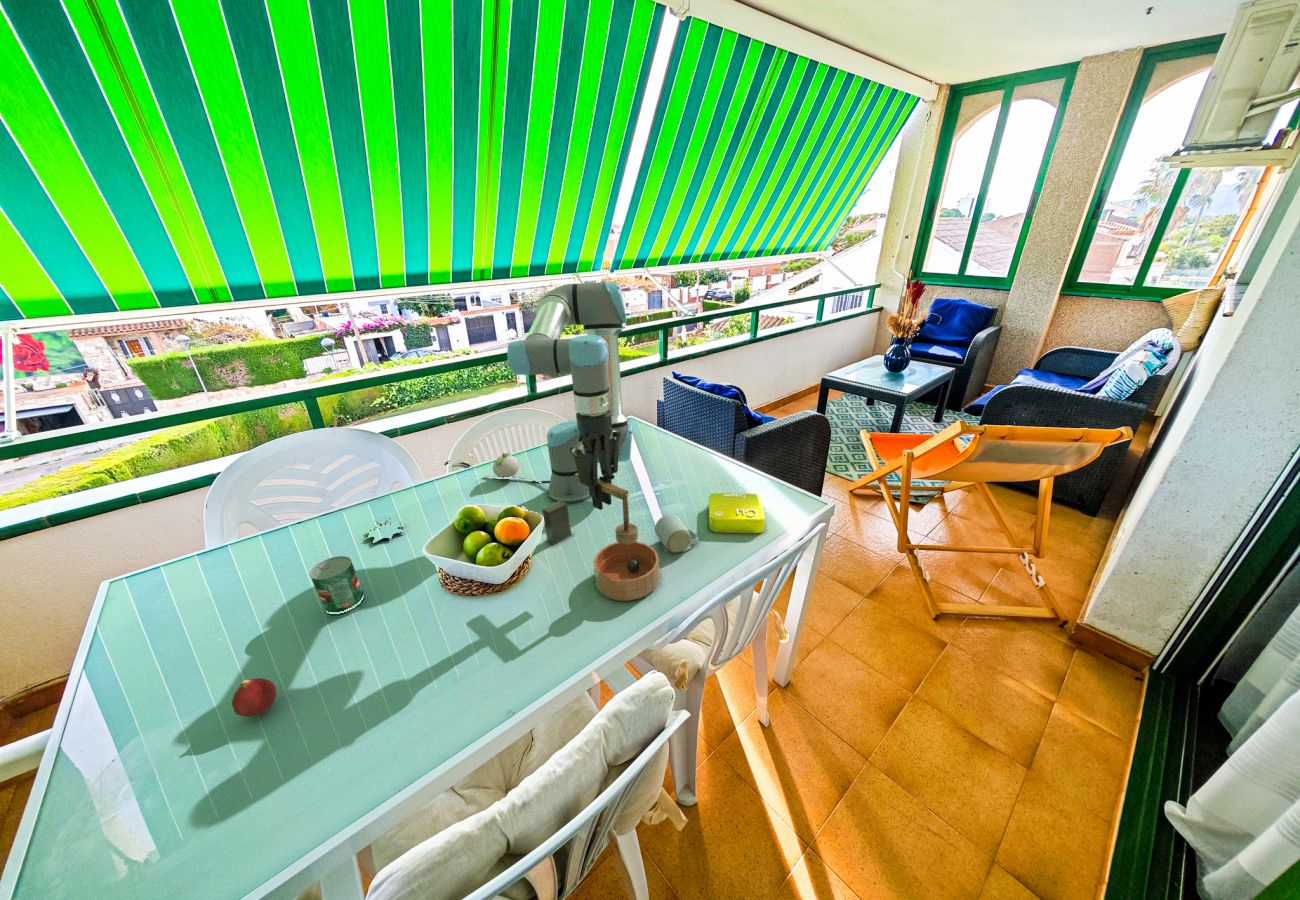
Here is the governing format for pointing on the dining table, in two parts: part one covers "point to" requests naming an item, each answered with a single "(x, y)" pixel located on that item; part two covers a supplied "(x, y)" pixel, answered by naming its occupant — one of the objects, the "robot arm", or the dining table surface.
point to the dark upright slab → (556, 522)
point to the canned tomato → (337, 585)
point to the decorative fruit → (505, 465)
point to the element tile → (735, 513)
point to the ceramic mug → (674, 533)
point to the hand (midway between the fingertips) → (602, 504)
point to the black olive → (633, 565)
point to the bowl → (626, 571)
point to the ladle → (624, 531)
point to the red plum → (254, 697)
